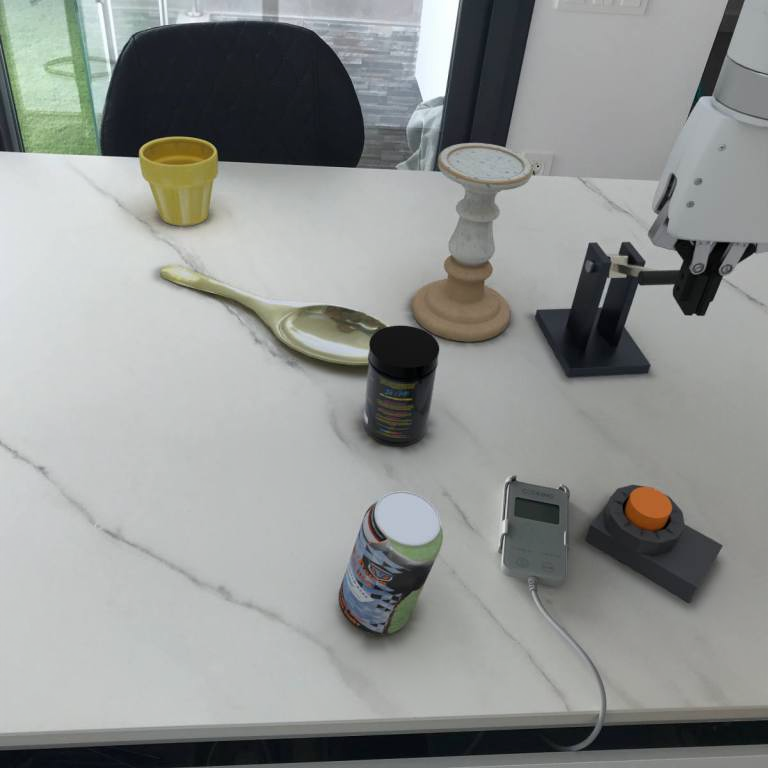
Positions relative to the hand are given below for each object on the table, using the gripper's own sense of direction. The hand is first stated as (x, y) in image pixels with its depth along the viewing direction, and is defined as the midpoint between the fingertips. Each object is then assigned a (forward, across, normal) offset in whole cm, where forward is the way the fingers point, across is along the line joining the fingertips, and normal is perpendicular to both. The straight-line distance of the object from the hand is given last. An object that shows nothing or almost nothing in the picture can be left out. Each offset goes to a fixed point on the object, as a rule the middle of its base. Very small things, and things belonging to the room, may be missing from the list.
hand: (688, 306), depth 66 cm
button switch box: (+19, +1, +11) cm, 22 cm away
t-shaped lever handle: (+7, -2, -15) cm, 17 cm away
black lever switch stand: (+19, -1, -20) cm, 28 cm away
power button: (+16, +2, +10) cm, 19 cm away
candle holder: (+19, +14, -26) cm, 35 cm away
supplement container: (+19, +23, -5) cm, 31 cm away
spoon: (+19, +37, -24) cm, 48 cm away
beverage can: (+19, +26, +17) cm, 36 cm away
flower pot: (+19, +51, -49) cm, 73 cm away
